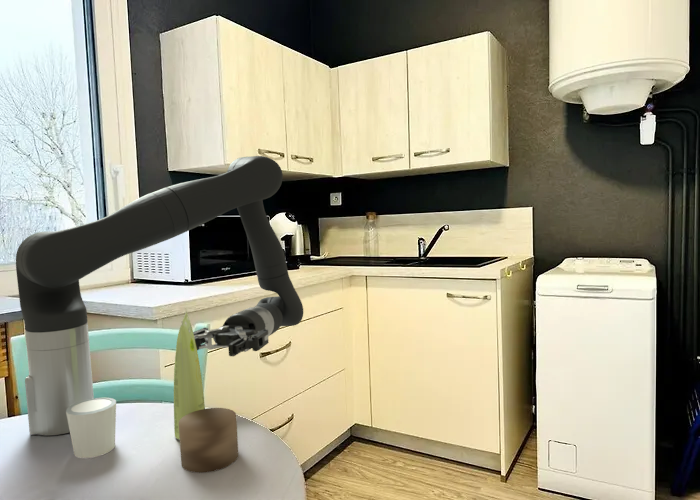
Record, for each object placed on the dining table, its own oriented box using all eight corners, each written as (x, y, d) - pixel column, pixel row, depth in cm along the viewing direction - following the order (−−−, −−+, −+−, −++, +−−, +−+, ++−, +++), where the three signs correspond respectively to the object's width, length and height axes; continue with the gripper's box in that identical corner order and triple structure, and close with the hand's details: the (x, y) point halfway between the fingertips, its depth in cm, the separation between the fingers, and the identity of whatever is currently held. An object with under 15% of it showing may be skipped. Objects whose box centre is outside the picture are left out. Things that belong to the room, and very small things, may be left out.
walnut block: (179, 477, 69) (176, 434, 68) (182, 450, 77) (180, 412, 76) (240, 467, 71) (237, 425, 71) (237, 442, 79) (234, 404, 78)
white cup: (99, 461, 74) (95, 415, 73) (58, 459, 75) (54, 413, 75) (129, 440, 81) (125, 397, 80) (91, 438, 82) (87, 395, 82)
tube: (216, 433, 82) (208, 313, 81) (189, 445, 78) (181, 320, 76) (193, 425, 85) (186, 310, 84) (167, 437, 81) (159, 316, 80)
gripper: (216, 308, 105) (170, 327, 89) (281, 310, 101) (244, 329, 85) (218, 344, 105) (172, 369, 89) (283, 347, 102) (247, 373, 86)
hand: (208, 349), depth 87 cm, fingers open, 8 cm apart
